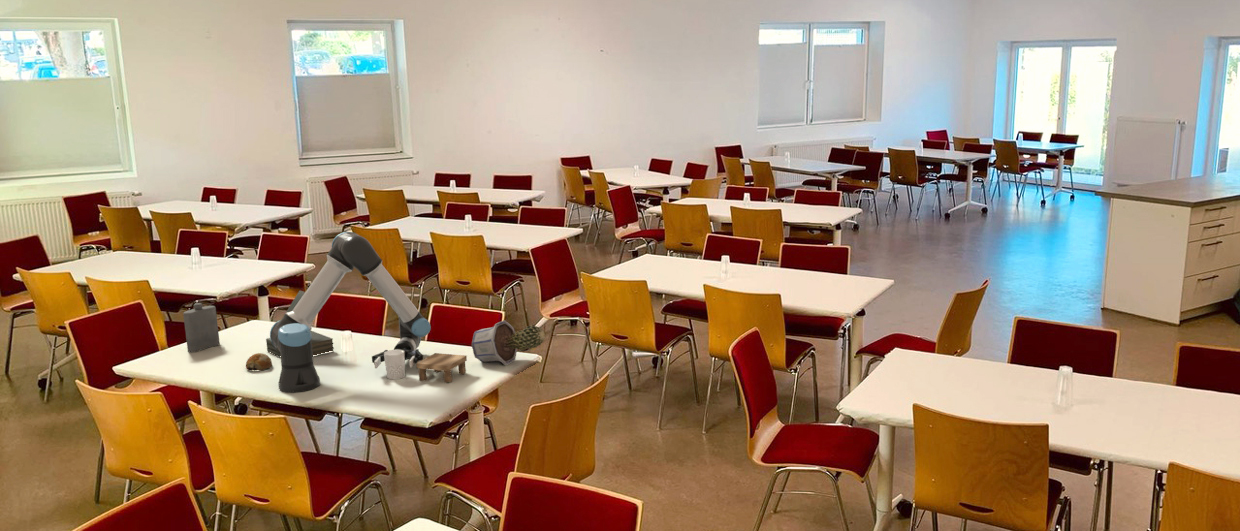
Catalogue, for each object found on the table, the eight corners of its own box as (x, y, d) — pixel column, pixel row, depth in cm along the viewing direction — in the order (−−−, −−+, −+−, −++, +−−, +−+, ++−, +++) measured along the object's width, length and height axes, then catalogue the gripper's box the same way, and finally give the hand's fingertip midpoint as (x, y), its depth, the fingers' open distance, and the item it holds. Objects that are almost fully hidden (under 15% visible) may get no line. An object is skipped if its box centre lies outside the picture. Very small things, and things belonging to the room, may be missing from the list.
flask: (213, 342, 434) (208, 299, 430) (222, 344, 431) (217, 300, 427) (184, 351, 422) (178, 306, 418) (192, 352, 419) (187, 308, 415)
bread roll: (273, 377, 394) (279, 358, 395) (250, 372, 386) (257, 352, 387) (261, 372, 400) (267, 353, 401) (239, 367, 393) (245, 348, 394)
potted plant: (462, 331, 386) (527, 318, 374) (484, 322, 402) (547, 309, 391) (473, 373, 387) (538, 361, 375) (494, 362, 403) (557, 351, 392)
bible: (267, 352, 417) (261, 296, 412) (309, 342, 430) (304, 288, 426) (290, 362, 401) (285, 304, 396) (334, 352, 414) (329, 296, 409)
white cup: (410, 375, 378) (408, 351, 376) (395, 381, 372) (394, 356, 370) (396, 372, 382) (394, 348, 380) (381, 378, 376) (379, 353, 374)
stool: (417, 380, 372) (416, 363, 370) (436, 369, 384) (435, 353, 383) (449, 383, 367) (448, 366, 365) (467, 372, 380) (466, 355, 378)
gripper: (435, 357, 394) (425, 372, 373) (375, 358, 394) (361, 374, 373) (434, 339, 393) (424, 354, 372) (373, 341, 393) (360, 356, 372)
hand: (393, 364), depth 373 cm, fingers open, 13 cm apart
